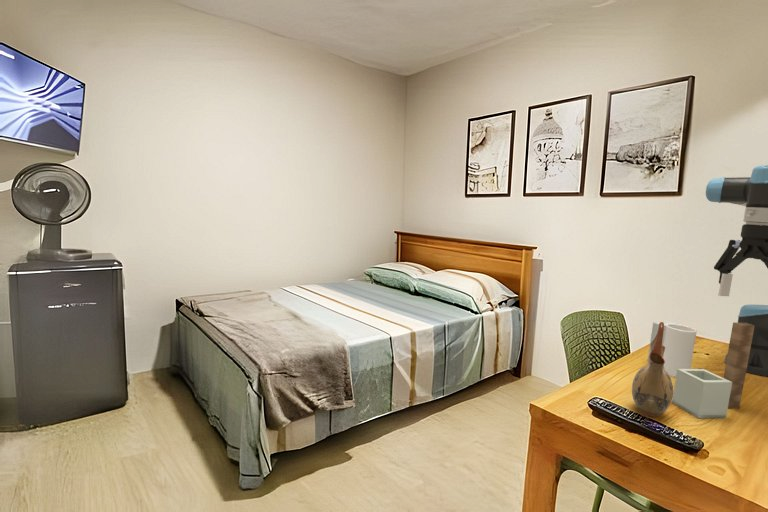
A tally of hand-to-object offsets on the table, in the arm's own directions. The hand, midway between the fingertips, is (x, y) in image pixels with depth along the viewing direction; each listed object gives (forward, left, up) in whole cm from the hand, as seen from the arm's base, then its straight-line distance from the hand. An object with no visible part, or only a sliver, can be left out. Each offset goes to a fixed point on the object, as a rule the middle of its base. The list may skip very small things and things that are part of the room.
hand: (747, 301), depth 112 cm
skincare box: (-6, -30, -30) cm, 43 cm away
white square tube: (+12, +2, -30) cm, 32 cm away
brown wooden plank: (0, 0, -30) cm, 30 cm away
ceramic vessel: (+28, +3, -30) cm, 41 cm away
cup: (-3, -22, -30) cm, 38 cm away
